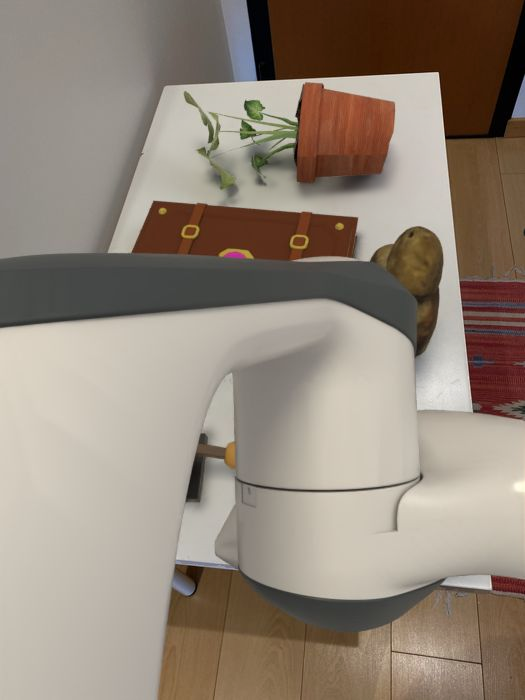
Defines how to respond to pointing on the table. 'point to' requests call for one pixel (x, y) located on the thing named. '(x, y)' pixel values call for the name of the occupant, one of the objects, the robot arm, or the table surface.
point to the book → (244, 232)
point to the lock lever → (218, 453)
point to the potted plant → (319, 134)
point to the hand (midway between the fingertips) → (252, 450)
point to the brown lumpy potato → (417, 275)
